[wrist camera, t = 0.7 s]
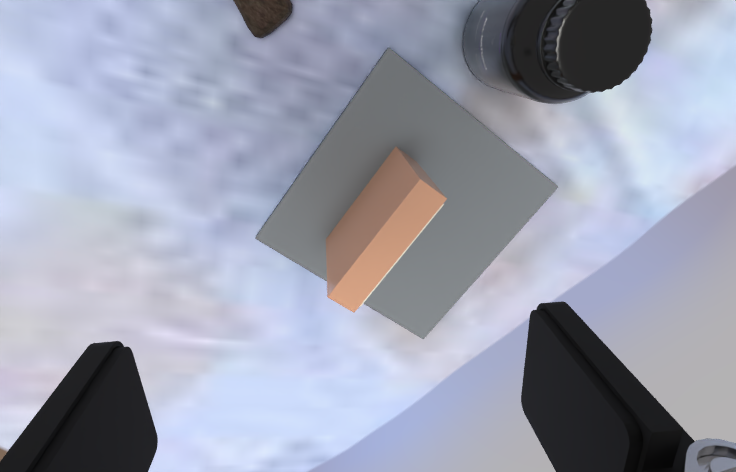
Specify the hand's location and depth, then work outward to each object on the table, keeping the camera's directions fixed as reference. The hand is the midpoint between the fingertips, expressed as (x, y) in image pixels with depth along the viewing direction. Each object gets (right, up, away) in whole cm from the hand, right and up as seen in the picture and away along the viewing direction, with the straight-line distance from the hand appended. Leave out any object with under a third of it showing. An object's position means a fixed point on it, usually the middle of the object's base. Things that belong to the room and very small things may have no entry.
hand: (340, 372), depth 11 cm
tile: (+1, +6, +25) cm, 25 cm away
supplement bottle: (+10, +17, +22) cm, 30 cm away
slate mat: (+4, +5, +26) cm, 27 cm away
